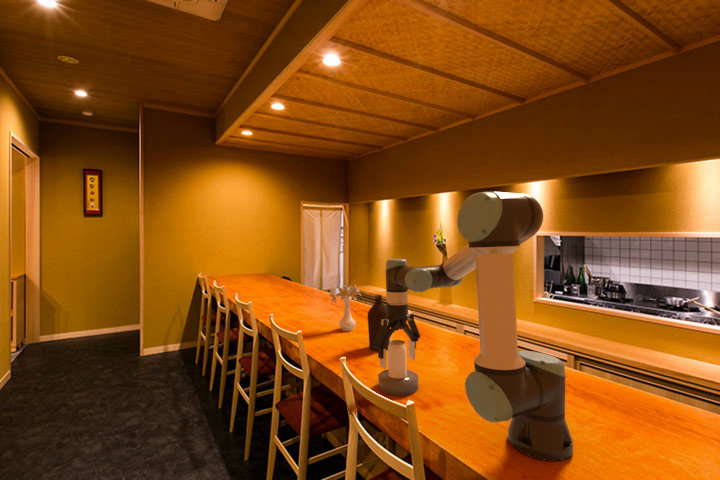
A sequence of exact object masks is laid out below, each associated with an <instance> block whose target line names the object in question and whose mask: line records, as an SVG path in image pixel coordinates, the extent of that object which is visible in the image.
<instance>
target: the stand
mask: <svg viewBox="0 0 720 480" xmlns="http://www.w3.org/2000/svg"><path fill="white" fill-rule="evenodd" d="M377 379H378V380H377V381H378V389H379V391H380V392H381V393H383V394H386V395H388V396H393V397H394V396H395V397H405V396H406V397H407V396H410V395H413V394H416V393H417V392H418V391H419V375H418V374H417V372H415V371H413V370H410V369H407V376H406V377H405V378H403V379H393V378H390V376H389V374H388V369H384V370H381V372H379V373H378V377H377Z"/></svg>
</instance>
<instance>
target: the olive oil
mask: <svg viewBox="0 0 720 480" xmlns="http://www.w3.org/2000/svg"><path fill="white" fill-rule="evenodd" d="M387 318H388V315H387V311H386V305H385V304H384V303H383V295H382V294H375V295H374V304H373V305H372V306H371V307H370V308H369V309H368V312H367V327H368V328H367V329H368V343H369V345H368V347H369V349H370V350H371V351H374V352H378V349H377V348H375V347H373V344H374V341H375V338H376V335H377V332H378V329H379V326H380V320H381V319H384V320H385V319H387ZM390 341H391V340H390V339H389V341H388V342H387V344H386V346H385V348H384V349H386V351H388V345H389V342H390Z"/></svg>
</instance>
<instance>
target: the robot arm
mask: <svg viewBox="0 0 720 480" xmlns="http://www.w3.org/2000/svg"><path fill="white" fill-rule="evenodd" d="M543 222H544V211H543V209H542V206H541V204H540V203H539V202H538V200H537V199H536V198H535V197H533V196H531V195H529V194H527V193H521V192H504V191H503V192H502V191H491V190H490V191H482V192H480V191H479V192H475V193H472V194H471V195H470V196H468V197H467V198H466V199H465V200H464V202H463V203H462V204H461V206H460V208H459V210H458V213H457V222H456V224H457V229H458V232H459V233H460V235H461V237H462V238H463V239H464V240H465V241H467V242H468V243H467V244H466V245H464V246H463V247H462V248H461V249H460V250H458V251H456V252H455V253H454V254H453V255H451V256H450V257H449V258H447V259H446V260H444V261H443V262H441V264H437V265H427V266H426V265H425V266H424V265H423V266H409V265H408V260H407V259H405V258H391V259H390V258H388V259H387V260H386V262H385V270H384V271H385V287H386V288H385V289H386V290H385V292H386V294H385V295H386V297H385V298H386V304H385V307H386V311H387V315H388V318H387V319H385V320H384V319H381V320H380V326H379V329H378V332H377V335H376V338H375V341H374V344H373V347H375V348H377V349H378V351H377V357H378V358H379V367H380V368H382V369H384V370H387V369H388V368H387V367H388V366H387V350H386V349H384V348H385V346H386V344H387V342H388V341H389V342H390V340H389V339H390V338H391V336H392V335H393V334H394V333H395V332H396V331H399V330H403V331H404V333H405V334H406V335H407V337H408V340H407V344H408V345H407V346H408V350H407V351H408V353H407V354H408V356H407V358H409V359H411V360H413V361H414V360H416V349H417V342H419V339H420V338H421V334H420V331H419V329H418V326H417V324H416V322H415V317H414V314H412V313H409V304H408V302H409V296H408V295H409V294H408V293H409V291H413V292H414V293H417V292H419V293H424V292H426V291H428V290H431V289H439V288H451V287H454V286H458V285H461V283H462V281H463V279H464V277H465V276H466V275H468V274H470V273H471V272H473V271H474V270H476V271H475V272H476V289H477V290H476V291H477V292H476V293H477V311H478V315H477V316H478V331H479V333H478V334H479V336H478V337H479V353H478V354H477V355H476V356H475V357H474V359H473V361H474V362H473V363H474V365H473V366H474V371H472V372H470V373H469V374H468V375H467V376H466V379H465V382H464V389H465V394H466V398H467V400H468V402H469V403H470V406H472V408H473V410H474V411H475V412H476V414H478V416H480V417H481V418H482V419H484V420H485V421H487V422H489V423H493V424H494V423H496V424H497V423H501V422H509V421H510V422H509V425H508V428H507V440H508V442H509V444H510V445H511V446H512V447H513V448H514V449H515V448H516V450H517V451H519V452H520V453H521V452H522V454H523V453H524V455H525V454H527V455H529V456H528V457H530V456H532V457H531V458H533V457H536V458H540V459H545V460H544V461H546V460H561V459H565V458H567V459H569V458H570V457H569V456H572V455H573V454H572V453H574V441H573V438H572V436H571V435H572V434H571V432H570V429H569V426H568V423H567V420H566V377H567V375H566V368H565V364H564V362H563V361H562V360H561V359H560V358H558V357H556V356H553V355H550V354H546V353H543V352H538V351H532V350H531V351H530V350H519V349H518V346H519V345H518V344H519V343H518V326H517V305H516V289H515V286H516V285H515V283H516V282H515V268H514V254H515V252H516V251H518V250H519V248H520V247H521V246H520V245H522V244H523V243H525V242H527V241H528V240H530V239H531V238H532V237H534V236H535V235H536V234H537V233H538V232H539V231H540V229H541V227H542V225H543ZM408 290H409V291H408ZM527 455H526V456H527ZM568 457H569V458H568ZM536 458H535V459H536ZM540 459H539V460H540ZM565 460H566V459H565ZM561 461H562V460H561Z"/></svg>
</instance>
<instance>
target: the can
mask: <svg viewBox="0 0 720 480" xmlns="http://www.w3.org/2000/svg"><path fill="white" fill-rule="evenodd" d="M407 358H408V357H407V345H406V341H404V340H400V339H394V340H389V345H388V350H387V367H388V368H387V370H388V374H389V376H390V378H393V379H403V378H405V377H406V376H407V370H408V368H407V365H408V364H407V361H408V360H407Z"/></svg>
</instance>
